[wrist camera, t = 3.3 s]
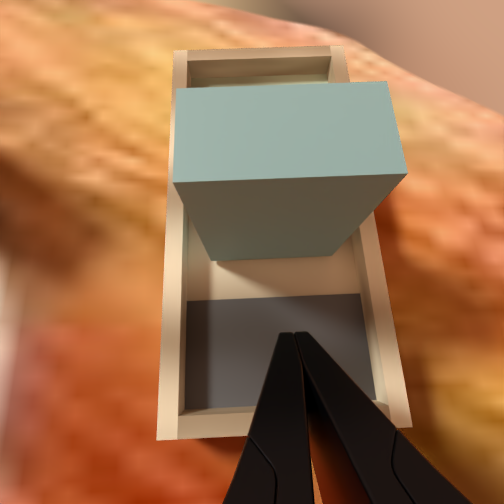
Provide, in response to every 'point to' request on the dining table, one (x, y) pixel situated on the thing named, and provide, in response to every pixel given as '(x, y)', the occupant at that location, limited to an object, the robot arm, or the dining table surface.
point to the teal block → (284, 165)
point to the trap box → (265, 285)
